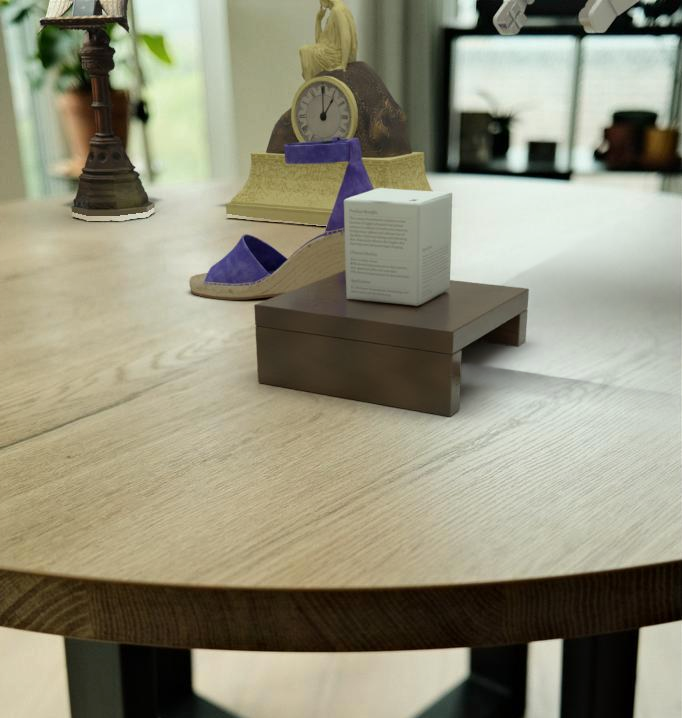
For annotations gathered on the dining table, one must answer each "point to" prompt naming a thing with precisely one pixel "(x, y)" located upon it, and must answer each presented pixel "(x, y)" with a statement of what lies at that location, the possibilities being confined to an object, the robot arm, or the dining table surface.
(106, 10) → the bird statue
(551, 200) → the dining table surface
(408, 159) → the decorative clock
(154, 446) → the dining table surface
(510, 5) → the robot arm
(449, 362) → the low wooden riser
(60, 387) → the dining table surface
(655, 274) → the dining table surface
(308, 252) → the sandal
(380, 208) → the product box
